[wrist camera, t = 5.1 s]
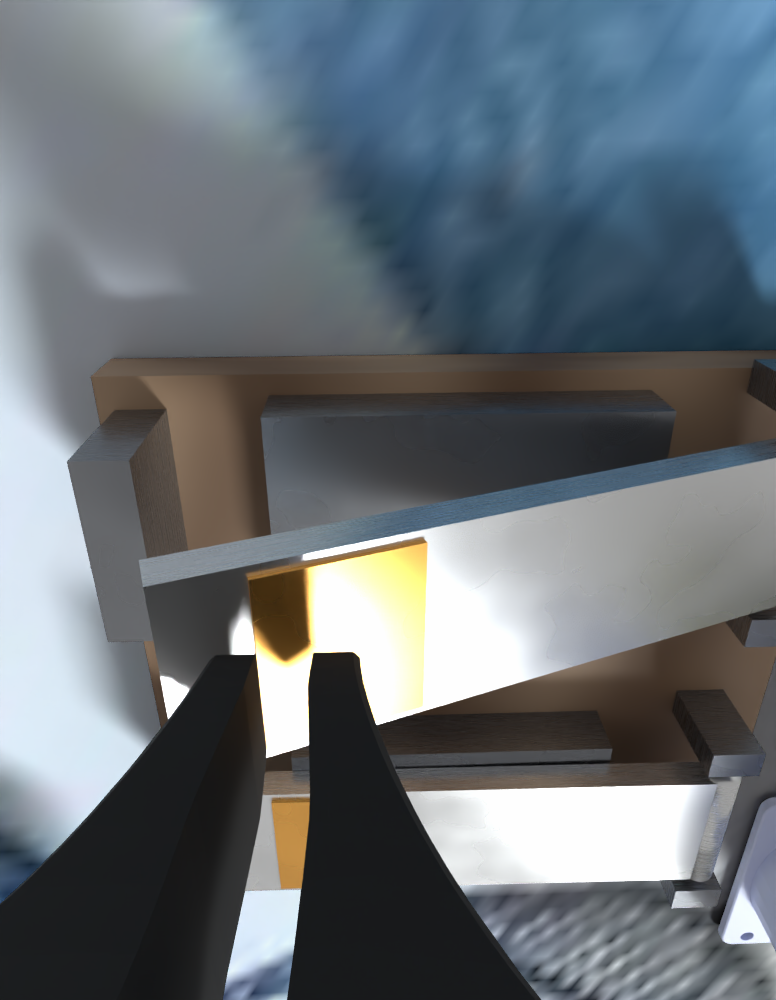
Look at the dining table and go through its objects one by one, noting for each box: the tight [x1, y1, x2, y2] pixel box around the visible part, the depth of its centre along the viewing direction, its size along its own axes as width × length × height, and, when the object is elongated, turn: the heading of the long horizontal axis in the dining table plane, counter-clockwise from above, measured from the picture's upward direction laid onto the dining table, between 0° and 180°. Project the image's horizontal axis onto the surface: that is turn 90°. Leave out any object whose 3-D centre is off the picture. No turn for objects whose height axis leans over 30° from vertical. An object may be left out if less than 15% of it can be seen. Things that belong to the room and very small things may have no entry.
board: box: [91, 350, 776, 772], centre depth 21 cm, size 18×16×2 cm
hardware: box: [67, 359, 776, 908], centre depth 19 cm, size 16×16×3 cm
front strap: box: [139, 438, 776, 758], centre depth 14 cm, size 14×4×1 cm, turn 90°
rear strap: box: [245, 762, 742, 891], centre depth 21 cm, size 14×4×1 cm, turn 90°
